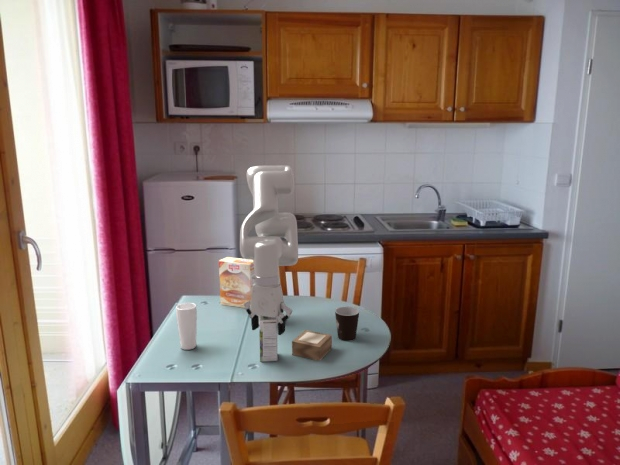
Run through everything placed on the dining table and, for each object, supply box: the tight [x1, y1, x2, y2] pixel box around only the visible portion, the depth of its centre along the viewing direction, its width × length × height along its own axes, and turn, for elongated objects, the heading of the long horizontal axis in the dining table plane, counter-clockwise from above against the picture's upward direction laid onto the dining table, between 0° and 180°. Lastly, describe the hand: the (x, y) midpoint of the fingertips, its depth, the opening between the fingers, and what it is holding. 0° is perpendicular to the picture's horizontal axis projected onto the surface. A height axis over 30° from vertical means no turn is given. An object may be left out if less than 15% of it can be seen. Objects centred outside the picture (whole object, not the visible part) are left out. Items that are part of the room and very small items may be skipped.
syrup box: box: [258, 316, 278, 363], centre depth 160 cm, size 6×6×14 cm
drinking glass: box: [175, 302, 198, 351], centre depth 168 cm, size 7×7×15 cm
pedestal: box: [291, 329, 333, 362], centre depth 165 cm, size 10×10×5 cm
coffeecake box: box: [218, 256, 255, 309], centre depth 207 cm, size 15×7×20 cm, turn 68°
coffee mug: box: [334, 306, 360, 342], centre depth 177 cm, size 12×9×10 cm
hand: (268, 331), depth 159 cm, fingers open, 9 cm apart
